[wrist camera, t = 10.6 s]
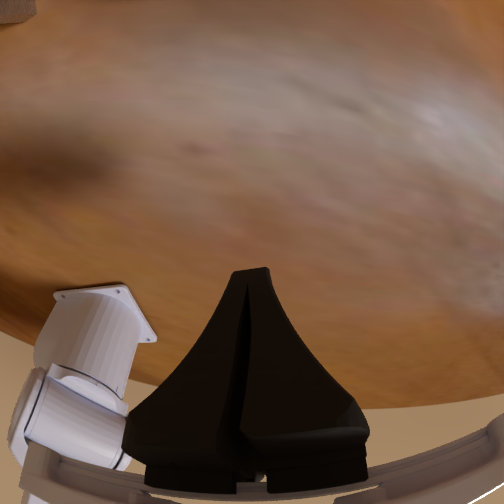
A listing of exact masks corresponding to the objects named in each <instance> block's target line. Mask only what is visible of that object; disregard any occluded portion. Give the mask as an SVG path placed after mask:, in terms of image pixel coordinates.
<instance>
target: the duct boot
mask: <svg viewBox="0 0 504 504" xmlns="http://www.w3.org/2000/svg"><path fill="white" fill-rule="evenodd" d="M34 15H36V8H35V1H34V0H0V24H5V23H20V22H26V21H27V20H29V19H30V18H31V17H33V16H34Z"/></svg>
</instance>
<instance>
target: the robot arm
mask: <svg viewBox="0 0 504 504" xmlns="http://www.w3.org/2000/svg"><path fill="white" fill-rule="evenodd" d="M53 297H54V298H55V300H56V301H57V302H56V304H55V306H54V308H53V309H52V311H51V313H50V315H49V317H48V319H47V321H46V323H45V325H44V326H43V328H42V330H41V332H40V334H39V336H38V338H37V340H36V343H35V346H34V353H33V358H34V365H35V368H34V369H31V371H30V373H29V375H28V377H27V379H26V381H25V383H24V385H23V388H22V390H21V392H20V395H19V397H18V400H17V403H16V406H15V408H14V412H13V415H12V418H11V424H10V427H9V431H8V435H7V440H8V442H9V443H8V447H9V449H10V451H11V453H12V454H13V456H14V458H15V459H16V461H17V462H18V464H19V465H20V467H21V468H22V473H21V477H20V482H19V487H20V488H21V489H23V490H24V492H23V496H22V501H21V504H180V503H177V502H174V501H171V500H166V499H161V498H156V497H152V496H151V495H150V494H149V493H151V494H157V495H164V496H171V497H179V498H187V499H198V500H212V501H213V500H214V501H275V500H276V501H278V500H292V499H302V498H310V497H319V496H326V495H333V494H339V493H344V492H350V491H355V490H360V489H364V488H369V487H373V486H377V485H379V486H378V487H377V488H374V489H370V490H366V491H362V492H358V493H354V494H350V495H346V496H342V497H337V498H336V499H335V500H334V503H333V504H471V503H473V502H475V501H477V500H479V499H480V498H482V497H484V496H485V495H487V494H489V493H491V492H492V491H494V490H495V489H497V488H499V487H500V486H502V485H504V413H503V414H501V415H500V416H498V417H497V418H495V419H494V420H492V421H491V422H490V423H489V424H488V425H487V426H486V427H484V428H482V429H480V430H478V431H476V432H474V433H471V434H469V435H467V436H465V437H462V438H460V439H458V440H455V441H453V442H450V443H448V444H445V445H442V446H440V447H437V448H434V449H432V450H429V451H426V452H423V453H420V454H417V455H414V456H411V457H407V458H404V459H401V460H397V461H394V462H390V463H386V464H382V465H378V466H374V467H370V468H367V463H366V456H367V453H366V447H365V443H366V441H367V439H368V437H369V435H370V429H369V426H368V423H367V420H366V418H365V416H364V414H363V412H362V411H361V409H360V407H359V406H358V404H357V402H356V401H355V399H354V398H353V397H352V396H351V395H350V394H349V393H348V392H347V391H346V390H345V389H344V388H343V387H342V386H341V385H340V384H339V383H338V382H337V381H336V380H335V379H334V378H333V377H332V376H331V375H330V374H329V373H328V372H327V371H326V370H325V368H324V367H323V366H322V365H321V364H320V363H319V361H318V360H317V359H316V358H315V357H314V355H313V354H312V353H311V352H310V350H309V349H308V348H307V346H306V345H305V344H304V342H303V341H302V339H301V338H300V337H299V335H298V334H297V332H296V331H295V329H294V327H293V326H292V324H291V322H290V321H289V319H288V317H287V316H286V314H285V312H284V310H283V308H282V306H281V304H280V302H279V300H278V298H277V295H276V293H275V291H274V288H273V285H272V280H271V276H270V271H269V269H268V268H267V267H261V268H255V269H248V270H241V271H234V272H233V273H232V275H231V277H230V280H229V282H228V285H227V287H226V289H225V291H224V294H223V296H222V298H221V300H220V302H219V304H218V306H217V308H216V310H215V312H214V313H213V315H212V317H211V319H210V320H209V322H208V324H207V326H206V327H205V329H204V331H203V332H202V334H201V335H200V337H199V338H198V340H197V341H196V343H195V344H194V346H193V347H192V349H191V350H190V351H189V353H188V354H187V355H186V356H185V358H184V359H183V360H182V361H181V363H180V364H179V365H178V366H177V368H176V369H175V370H174V371H173V372H172V373H171V374H170V375H169V376H168V377H167V379H166V380H165V381H164V382H163V383H162V384H161V385H160V386H159V387H158V388H157V389H156V390H155V391H154V392H153V393H152V394H151V395H150V396H148V397H147V398H146V399H145V400H143V401H142V402H141V403H140V404H139V405H138V406H137V407H135V408H134V409H133V410H131V411H130V412H129V414H128V415H127V414H126V413H127V409H128V404H127V403H125V402H123V401H122V400H123V396H124V392H125V388H126V384H127V380H128V377H129V373H130V369H131V366H132V362H133V358H134V355H135V351H136V348H137V345H138V343H145V342H156V341H157V336H156V335H155V333H154V332H153V330H152V328H151V327H150V325H149V323H148V322H147V320H146V319H145V317H144V315H143V314H142V312H141V310H140V309H139V307H138V305H137V303H136V302H135V300H134V298H133V296H132V295H131V293H130V291H129V289H128V288H127V286H125V285H123V284H118V285H110V286H101V287H92V288H83V289H74V290H65V291H56V292H54V294H53ZM132 458H134V459H136V460H137V461H139V462H141V463H143V464H145V465H146V470H145V475H141V474H135V473H129V472H124V470H125V469H126V468H127V466H128V465H129V463H130V461H131V459H132ZM264 474H265V475H266V476H267V482H260V481H261V480H262V479H263V478H264Z"/></svg>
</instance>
